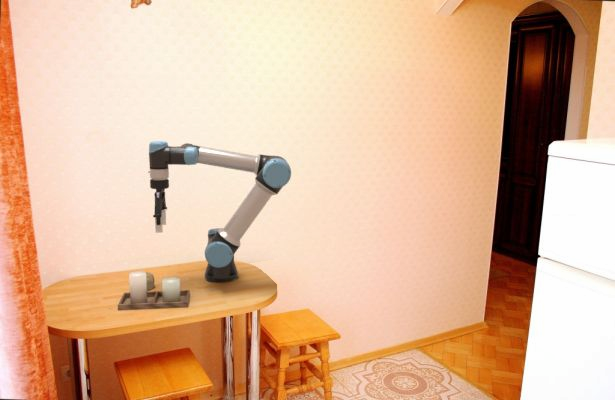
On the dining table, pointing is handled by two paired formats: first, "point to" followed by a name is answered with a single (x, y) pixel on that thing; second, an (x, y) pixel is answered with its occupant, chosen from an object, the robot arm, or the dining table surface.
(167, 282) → the white egg-shaped capsule
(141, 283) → the white rounded tapered cylinder
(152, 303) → the tray
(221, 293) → the dining table surface
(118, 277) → the dining table surface
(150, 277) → the decorative item
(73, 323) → the dining table surface
